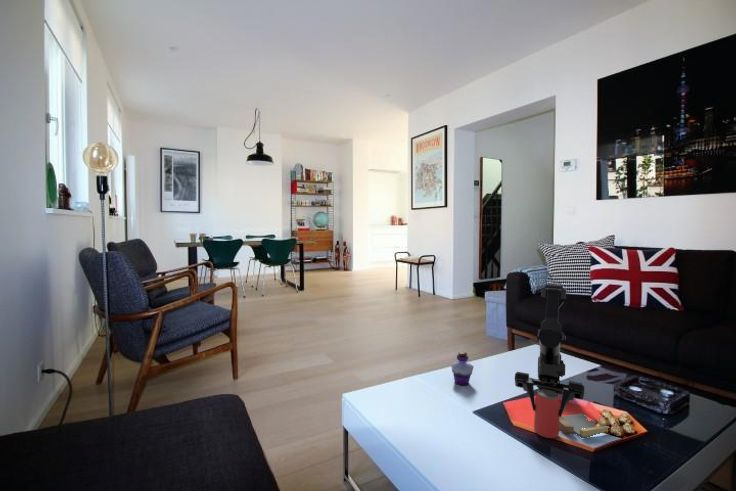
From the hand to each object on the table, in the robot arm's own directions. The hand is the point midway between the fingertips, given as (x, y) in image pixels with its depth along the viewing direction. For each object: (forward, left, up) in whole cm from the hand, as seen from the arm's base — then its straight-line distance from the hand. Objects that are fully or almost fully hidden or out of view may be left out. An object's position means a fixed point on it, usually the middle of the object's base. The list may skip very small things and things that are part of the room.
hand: (546, 413), depth 108 cm
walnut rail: (-5, +8, -7) cm, 12 cm away
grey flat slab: (-2, +15, -7) cm, 16 cm away
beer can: (-1, +1, -7) cm, 7 cm away
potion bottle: (-39, -6, -7) cm, 40 cm away
